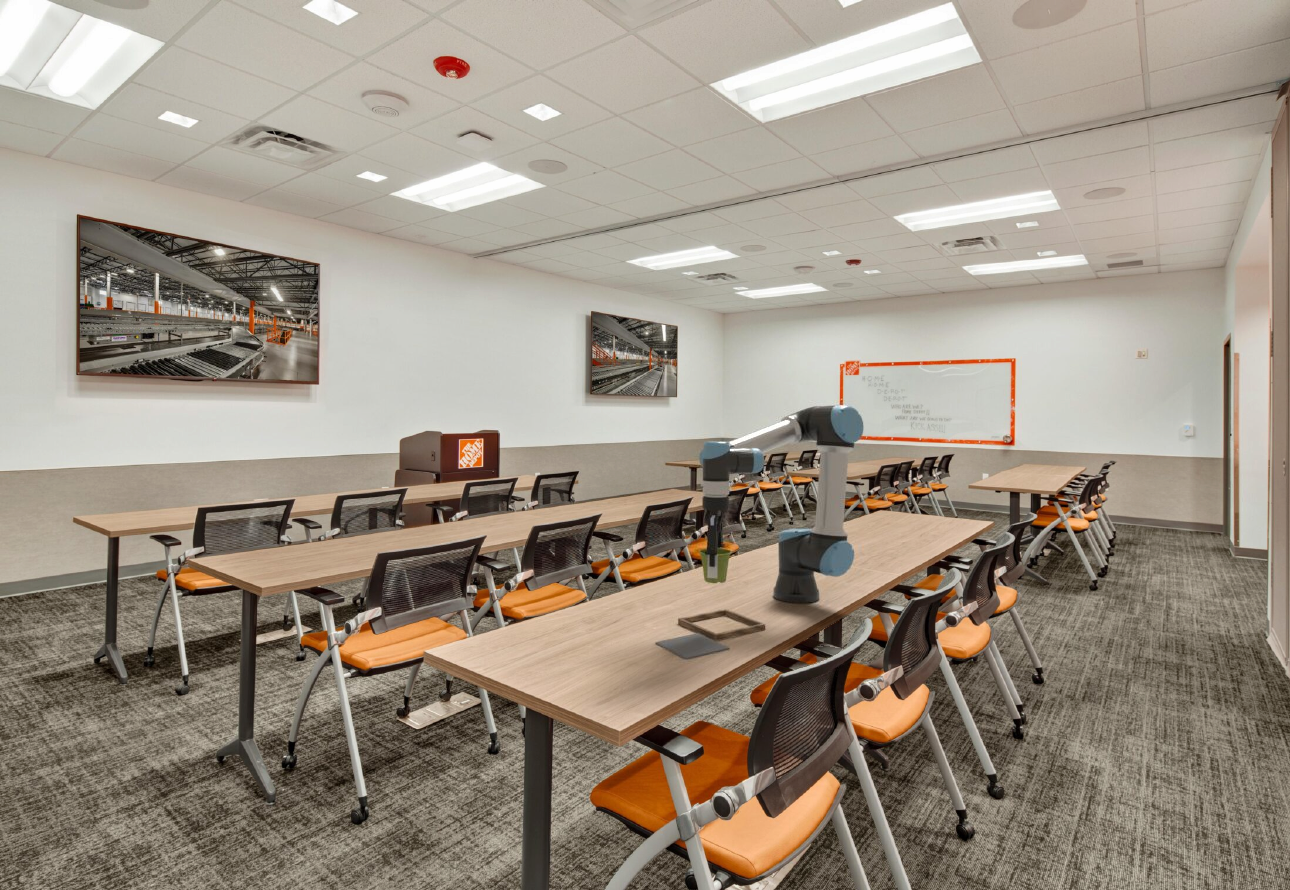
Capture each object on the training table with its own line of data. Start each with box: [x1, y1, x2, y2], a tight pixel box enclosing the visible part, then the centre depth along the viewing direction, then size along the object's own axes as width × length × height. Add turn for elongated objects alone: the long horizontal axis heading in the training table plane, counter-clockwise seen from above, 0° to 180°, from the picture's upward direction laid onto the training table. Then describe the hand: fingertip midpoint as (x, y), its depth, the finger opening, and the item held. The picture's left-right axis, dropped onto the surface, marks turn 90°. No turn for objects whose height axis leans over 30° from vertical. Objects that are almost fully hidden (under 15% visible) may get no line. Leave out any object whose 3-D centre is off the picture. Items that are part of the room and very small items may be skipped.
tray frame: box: [677, 608, 766, 642], centre depth 190 cm, size 18×18×2 cm
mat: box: [655, 632, 730, 661], centre depth 173 cm, size 14×14×1 cm
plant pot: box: [698, 547, 732, 584], centre depth 186 cm, size 9×9×9 cm
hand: (714, 573), depth 186 cm, fingers closed on plant pot, 9 cm apart
